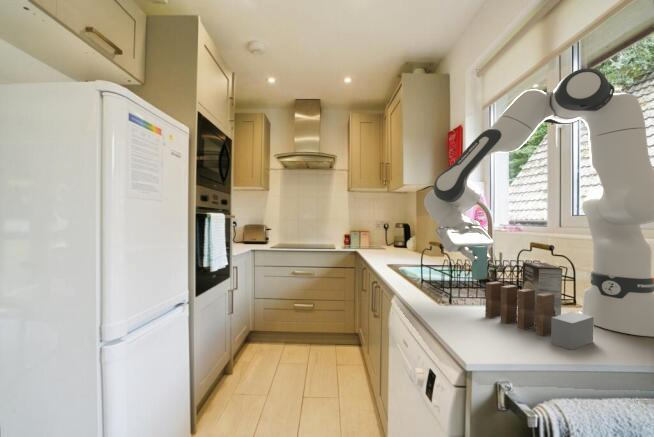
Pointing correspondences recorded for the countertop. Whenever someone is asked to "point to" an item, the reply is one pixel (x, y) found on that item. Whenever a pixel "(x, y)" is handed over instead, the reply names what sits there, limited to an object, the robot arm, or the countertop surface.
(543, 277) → the coffee box
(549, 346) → the countertop surface
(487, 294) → the domino
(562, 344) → the end block
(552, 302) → the domino
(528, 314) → the domino
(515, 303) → the domino
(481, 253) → the domino
